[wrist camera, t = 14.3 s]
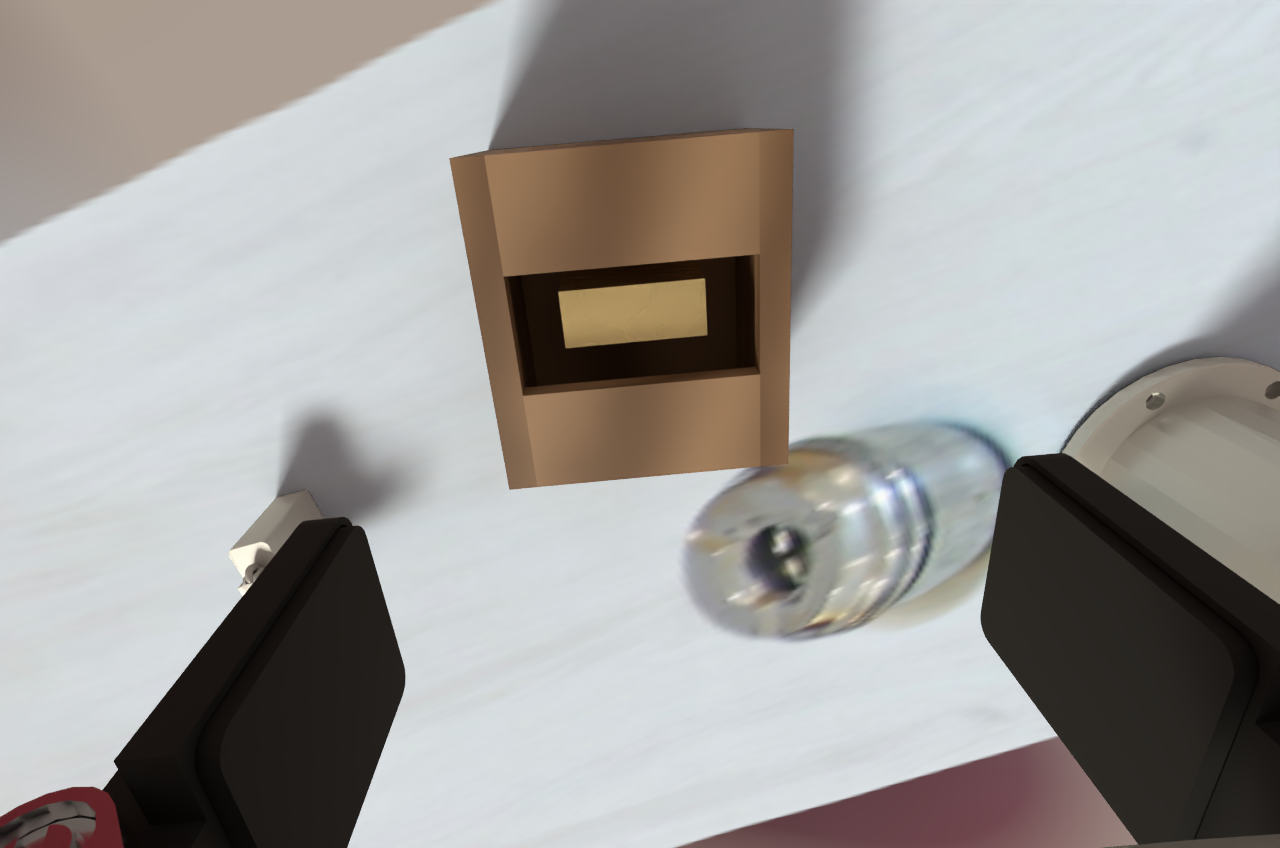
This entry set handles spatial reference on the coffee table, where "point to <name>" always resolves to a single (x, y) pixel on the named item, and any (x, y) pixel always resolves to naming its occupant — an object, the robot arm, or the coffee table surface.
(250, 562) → the lighter
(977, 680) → the coffee table surface
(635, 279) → the gold metal block
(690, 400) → the box
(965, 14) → the coffee table surface
